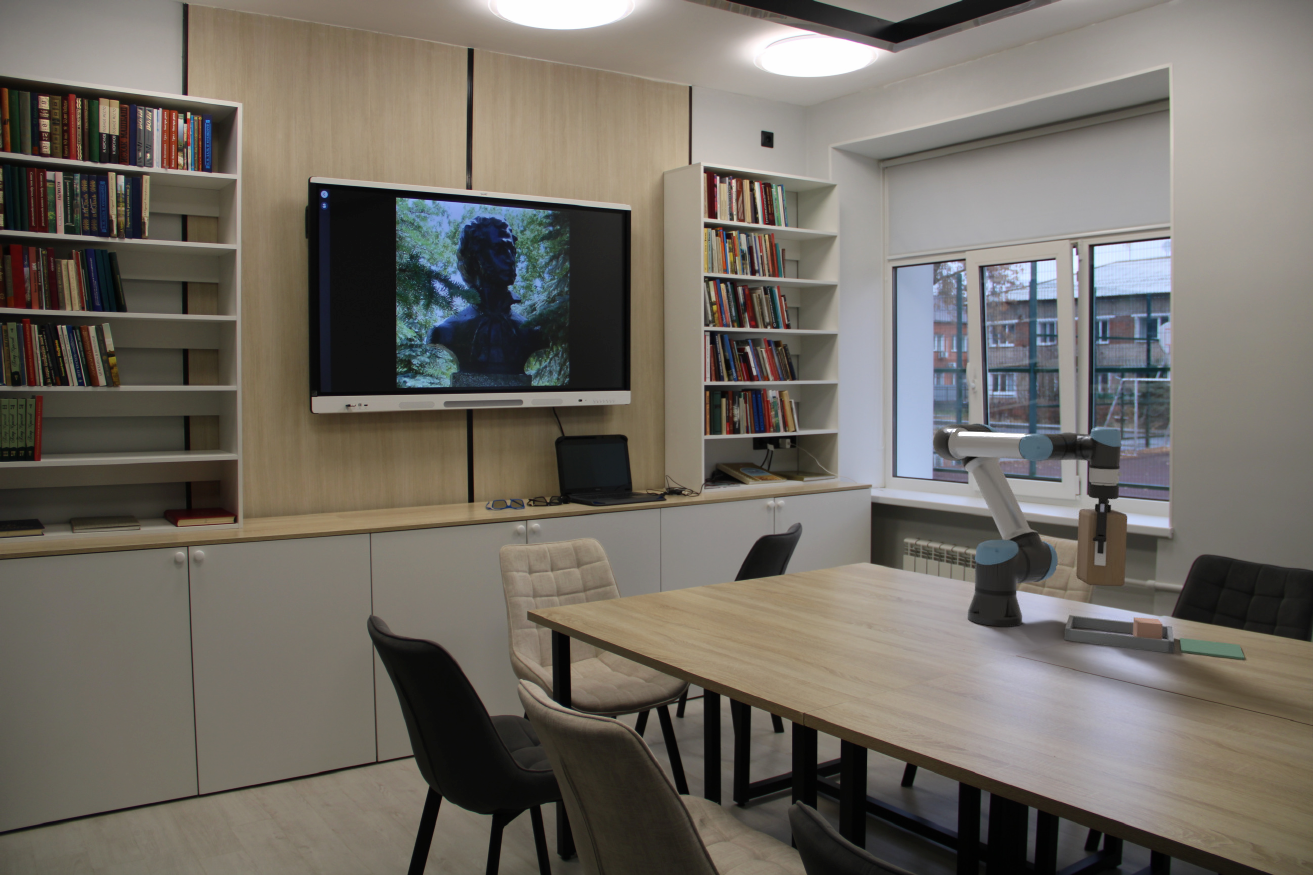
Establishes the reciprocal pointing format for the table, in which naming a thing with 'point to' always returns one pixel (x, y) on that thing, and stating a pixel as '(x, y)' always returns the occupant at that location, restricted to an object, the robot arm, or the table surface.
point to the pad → (1211, 648)
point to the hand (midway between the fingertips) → (1100, 561)
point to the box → (1147, 628)
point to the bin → (1116, 638)
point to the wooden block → (1114, 549)
